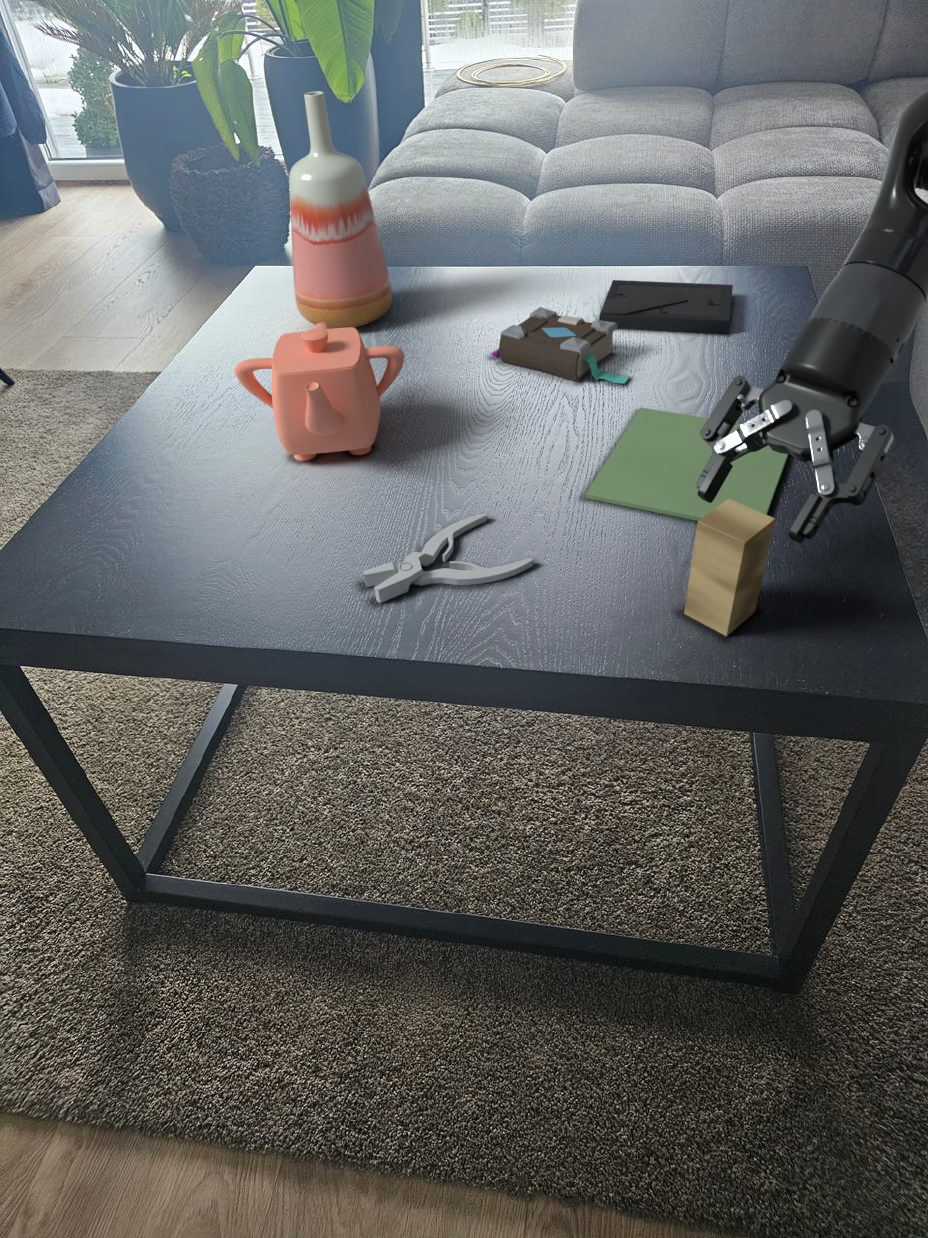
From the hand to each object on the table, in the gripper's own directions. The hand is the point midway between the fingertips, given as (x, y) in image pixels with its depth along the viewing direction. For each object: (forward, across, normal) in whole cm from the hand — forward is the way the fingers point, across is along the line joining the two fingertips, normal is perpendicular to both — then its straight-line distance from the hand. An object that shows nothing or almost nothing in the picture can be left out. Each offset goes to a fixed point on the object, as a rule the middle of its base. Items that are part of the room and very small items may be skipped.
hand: (747, 518), depth 70 cm
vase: (-6, -79, +19) cm, 82 cm away
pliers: (+16, -23, -3) cm, 29 cm away
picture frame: (-28, -43, +41) cm, 66 cm away
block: (+8, 0, +5) cm, 9 cm away
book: (-13, -44, +27) cm, 53 cm away
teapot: (+11, -51, +2) cm, 52 cm away
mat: (-5, -16, +18) cm, 25 cm away
